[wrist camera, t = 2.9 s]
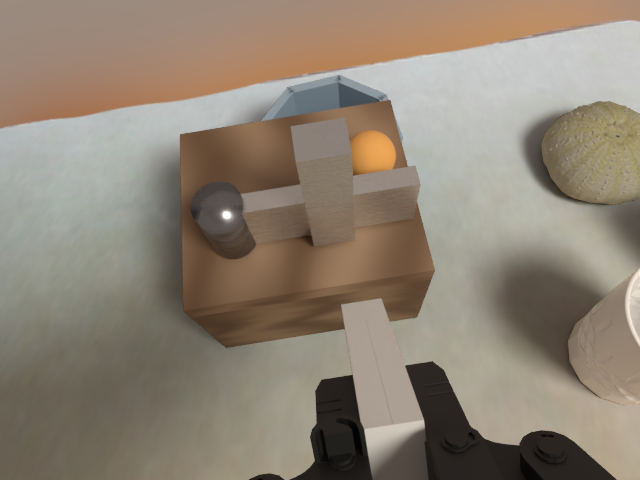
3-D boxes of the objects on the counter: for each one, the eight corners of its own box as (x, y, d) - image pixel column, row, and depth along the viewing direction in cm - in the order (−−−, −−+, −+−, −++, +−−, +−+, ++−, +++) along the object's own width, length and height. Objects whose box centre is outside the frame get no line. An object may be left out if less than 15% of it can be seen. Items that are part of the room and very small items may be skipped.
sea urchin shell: (685, 136, 40) (699, 139, 34) (620, 214, 44) (621, 231, 37) (582, 85, 43) (576, 79, 37) (529, 162, 47) (515, 169, 40)
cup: (253, 199, 43) (234, 153, 37) (315, 116, 46) (307, 61, 40) (354, 252, 40) (353, 213, 34) (412, 160, 43) (421, 109, 37)
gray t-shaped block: (214, 262, 29) (157, 185, 21) (212, 222, 31) (157, 134, 22) (416, 230, 29) (437, 139, 21) (406, 190, 30) (422, 90, 22)
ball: (336, 178, 31) (333, 149, 29) (360, 143, 33) (360, 111, 30) (379, 199, 31) (380, 172, 28) (403, 162, 32) (407, 132, 29)
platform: (226, 347, 38) (183, 310, 28) (218, 203, 43) (179, 134, 34) (417, 317, 37) (434, 270, 28) (384, 176, 43) (390, 99, 34)
